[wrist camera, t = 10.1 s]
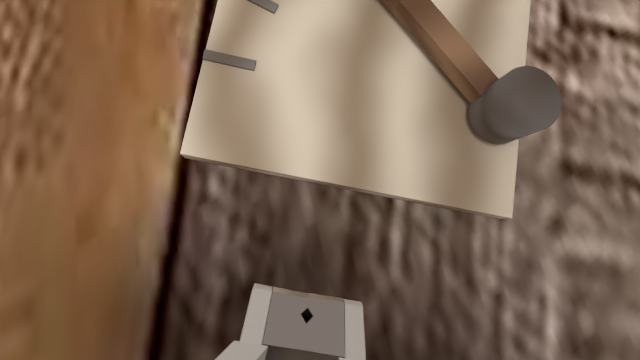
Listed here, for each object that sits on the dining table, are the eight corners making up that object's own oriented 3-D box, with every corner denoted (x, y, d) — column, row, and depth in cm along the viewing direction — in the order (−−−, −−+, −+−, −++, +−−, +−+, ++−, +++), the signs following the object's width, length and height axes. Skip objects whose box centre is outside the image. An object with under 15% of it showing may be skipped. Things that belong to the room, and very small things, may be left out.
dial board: (524, -50, 26) (538, -66, 25) (499, 218, 23) (514, 218, 22) (254, -124, 24) (252, -145, 23) (185, 158, 21) (179, 152, 20)
